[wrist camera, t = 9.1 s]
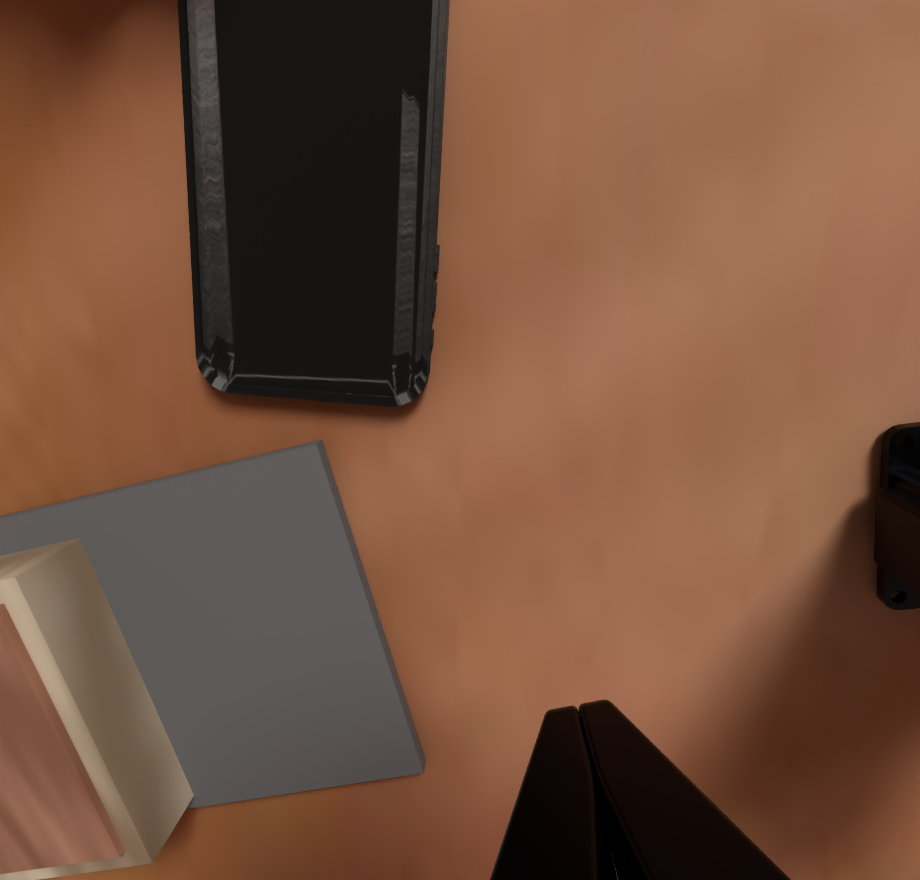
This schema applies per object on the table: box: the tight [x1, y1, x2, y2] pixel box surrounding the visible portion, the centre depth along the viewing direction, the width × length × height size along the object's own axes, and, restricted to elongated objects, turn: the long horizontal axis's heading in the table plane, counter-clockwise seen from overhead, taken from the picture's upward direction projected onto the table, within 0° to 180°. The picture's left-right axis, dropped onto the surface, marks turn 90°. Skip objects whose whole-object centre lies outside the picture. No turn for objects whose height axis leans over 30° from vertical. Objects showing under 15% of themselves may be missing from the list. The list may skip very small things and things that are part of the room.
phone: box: [178, 0, 450, 407], centre depth 18 cm, size 8×1×15 cm
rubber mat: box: [0, 440, 426, 809], centre depth 24 cm, size 22×14×1 cm, turn 104°
